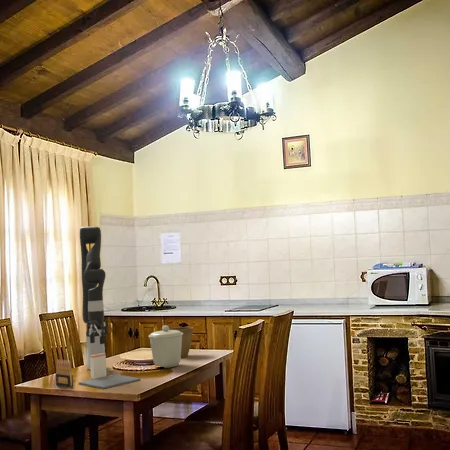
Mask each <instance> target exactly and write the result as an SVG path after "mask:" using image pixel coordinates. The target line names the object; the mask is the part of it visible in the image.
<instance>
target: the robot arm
mask: <svg viewBox="0 0 450 450" xmlns="http://www.w3.org/2000/svg"><path fill="white" fill-rule="evenodd" d="M79 244H80V255H81V259H80V260H81V284H82V312H81V313H82V320H83V322H84V324H86V332H85V335H86V336H85V338H86V340H85V341H86V342H85V343H86V354H85V357H86V369H87V370H90V355H94V354H100V353H106V351H105V350H106V349H105V348H106V347H105V343H106V342H105V341H106V338H105V336H106V335H108V325H107V322H106V321H104V319H105V308H104V307H105V304H104V299H103V298H104V295H103V291H104V284H105V281H106V274H107V273H106V272H105V270H104V269H102V268H101V267H102V263H101V262H102V261H101V249H102V248H101V247H102V231H101V228H100V227H99V226H81V227H80V229H79ZM87 245H92V247H91V248H90V249H88V247H87ZM90 371H91V370H90Z"/></svg>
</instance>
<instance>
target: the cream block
mask: <svg viewBox="0 0 450 450" xmlns="http://www.w3.org/2000/svg"><path fill="white" fill-rule="evenodd" d="M105 376H108V374H107V353H106V352H105V353H100V354H94V355H90V379H96V378H100V377H105Z"/></svg>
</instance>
